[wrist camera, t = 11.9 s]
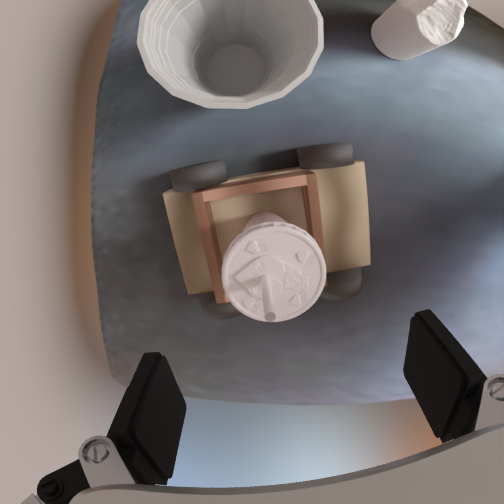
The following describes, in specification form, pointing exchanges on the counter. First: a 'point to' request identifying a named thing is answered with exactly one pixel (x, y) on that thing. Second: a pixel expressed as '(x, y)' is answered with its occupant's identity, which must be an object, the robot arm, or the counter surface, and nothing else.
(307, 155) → the chassis
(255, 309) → the smoothie
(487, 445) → the robot arm
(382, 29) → the roll
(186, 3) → the plastic cup
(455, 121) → the counter surface
